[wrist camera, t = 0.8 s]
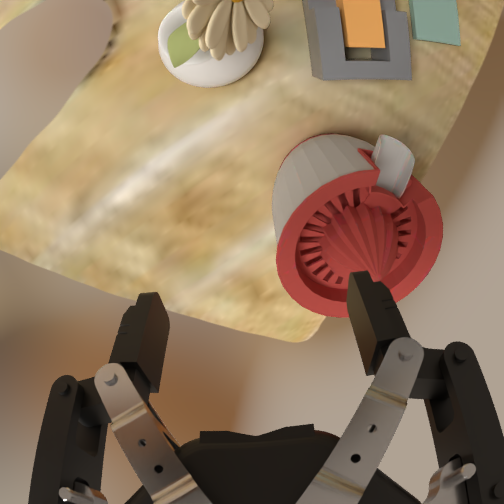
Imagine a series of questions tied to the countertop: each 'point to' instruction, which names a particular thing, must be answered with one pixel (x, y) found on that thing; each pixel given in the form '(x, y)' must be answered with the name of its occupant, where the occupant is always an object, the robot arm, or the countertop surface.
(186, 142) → the countertop surface
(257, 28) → the flower in vase
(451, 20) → the mat
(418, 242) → the citrus juicer
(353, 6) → the plank
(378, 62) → the kitting block
